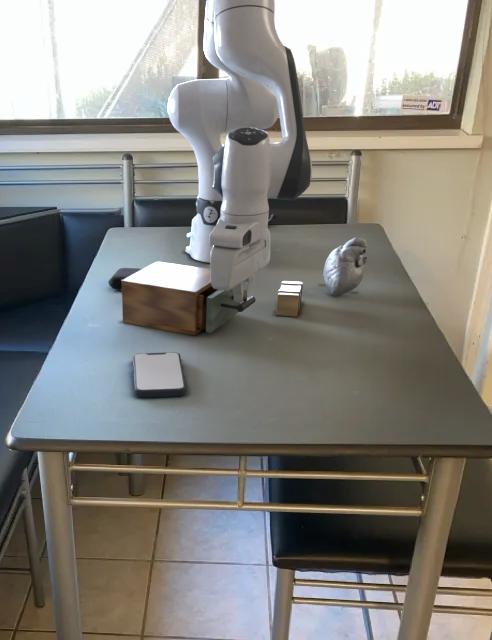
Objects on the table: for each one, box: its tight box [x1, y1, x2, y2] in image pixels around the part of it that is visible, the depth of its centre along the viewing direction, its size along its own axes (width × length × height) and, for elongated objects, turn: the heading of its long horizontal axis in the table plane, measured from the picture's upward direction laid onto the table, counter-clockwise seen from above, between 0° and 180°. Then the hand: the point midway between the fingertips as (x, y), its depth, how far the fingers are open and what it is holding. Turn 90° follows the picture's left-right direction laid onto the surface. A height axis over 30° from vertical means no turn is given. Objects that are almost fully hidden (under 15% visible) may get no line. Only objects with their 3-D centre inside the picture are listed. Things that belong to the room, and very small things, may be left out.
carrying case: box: [108, 267, 143, 291], centre depth 185 cm, size 11×3×15 cm
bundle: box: [275, 280, 304, 317], centre depth 170 cm, size 9×4×5 cm, turn 164°
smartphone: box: [132, 351, 187, 399], centre depth 143 cm, size 9×2×16 cm
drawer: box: [197, 286, 256, 333], centre depth 164 cm, size 20×13×7 cm, turn 59°
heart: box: [322, 237, 368, 297], centre depth 176 cm, size 10×10×12 cm
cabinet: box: [121, 260, 212, 336], centre depth 167 cm, size 17×15×9 cm
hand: (240, 300), depth 159 cm, fingers closed, pressing on drawer
